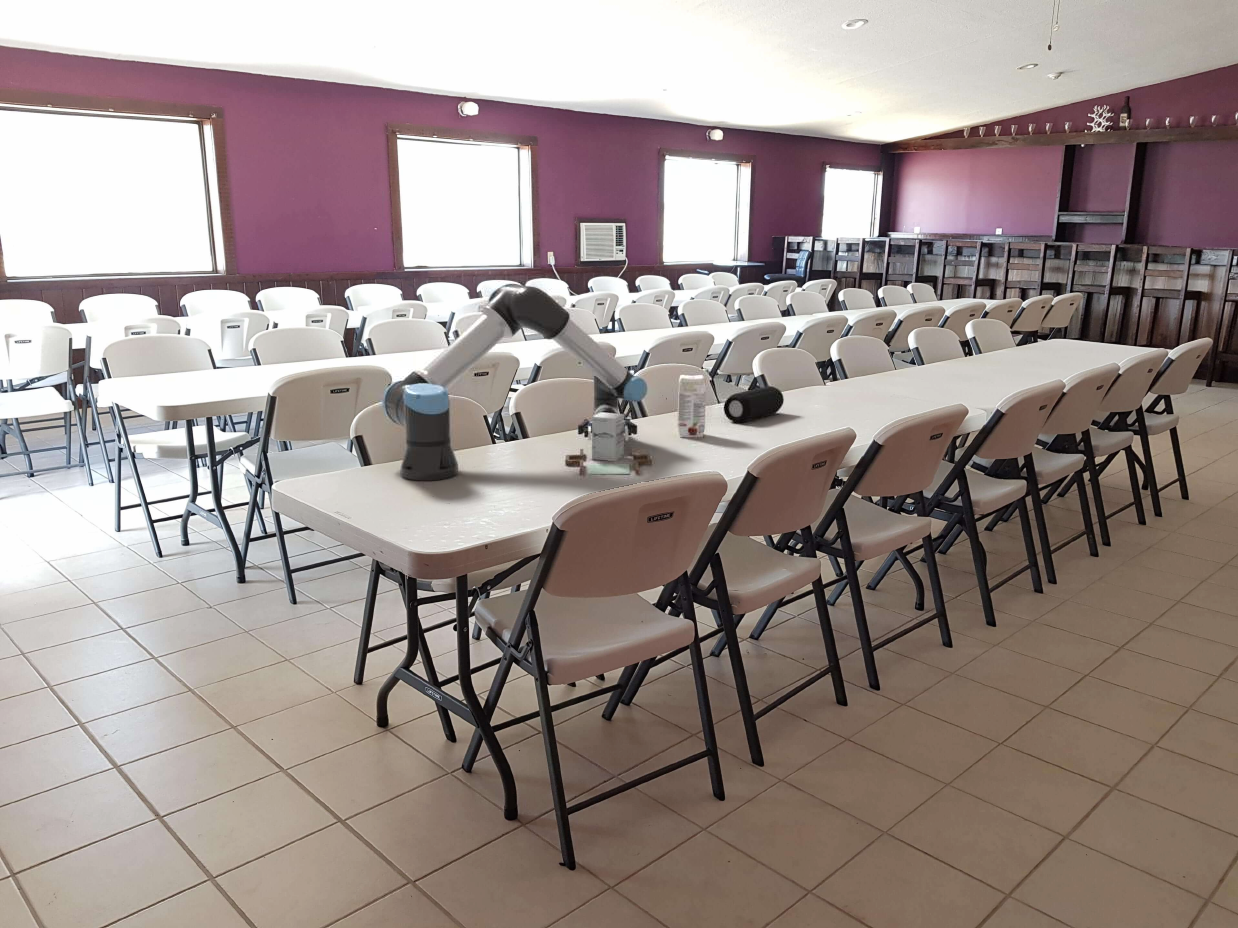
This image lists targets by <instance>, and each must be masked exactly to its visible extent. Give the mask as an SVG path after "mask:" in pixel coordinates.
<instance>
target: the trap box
mask: <svg viewBox="0 0 1238 928" xmlns="http://www.w3.org/2000/svg"><path fill="white" fill-rule="evenodd" d="M630 454H631V457H632V461H633V469H634V474H635V476H640V467H644V466H645V467H647V466H652V465H653V464H652V463H653V459H652V456H651V454H647V453H646V454H638V453H637V452H636V449H635V448H631V453H630ZM564 458H565V460H564V461H565V463H564V465H565V466H567V467H573V466H574V467H579V476H584V448H579V454H565V457H564Z"/></svg>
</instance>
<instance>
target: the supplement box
mask: <svg viewBox="0 0 1238 928" xmlns="http://www.w3.org/2000/svg"><path fill="white" fill-rule="evenodd" d="M591 419H592V421H591V422H592V433H591V460H598V461H609V462H614V461H615V462H617V461H619V460H620V459H621V458H623V457H624V444H625V442H624V440H625V434H624V420H625V414H623V413H618V414H615V413H604V412H600V413H598V414H596V415H594V414H593V416H592V418H591ZM619 458H620V459H619Z"/></svg>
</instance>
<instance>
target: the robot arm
mask: <svg viewBox="0 0 1238 928" xmlns="http://www.w3.org/2000/svg"><path fill="white" fill-rule="evenodd" d="M481 312H482V314H481V315H480V317H479V318H478V319H477V320H476V321H475V322H473V323H472V324H471V325H470V326H469V327H468V328H467V329H465V331H463V333H462V334H460V336H458V337H457V338H456V339H455V340H454V341H453V342H452V343H450V344H449V346H447V347H446V348H445V349H444V350H443V351H442V352H440V353H439V355H437V356H436V357H435V358H434V359H433V360H432V361H431V362H430V363H429V364H427V365H426V367H424V368H423V370H413V371H412V372H411V373H410V374H408V375H407V376H406V377H405V378H404V379H403V380H397V381H394V382H392V383H391V384H389V385H388V387H386V389H385V390H384V392H383V394H382V399H381V405H382V410H383V413H384V414H385V415H386V417H387V418H388V419H389V420H391V422H393V423H395V424H396V425H398V426H402V427H404V429H405V444H406V445H405V451H404V455H403V457H402V461H401V465H400V475H401V477H402V478H404V479H407V480H412V481H423V482H424V481H426V482H427V481H440V480H445V479H451V478H453V477H455V476H457V475H458V474H459V473H460V471H459V463H458V461H457V457H456V455H455V452H454V449H453V447H452V443H451V442H452V441H451V439H452V437H451V410H450V409H451V408H450V407H451V400H450V396H449V391H448V390H449V389H450V388H451V387H452V386H453V385H454V384H455V383H457V382H458V380H459V379H461V378H462V377H463V376H464V375H465V374H466V373H467V372H468V371H469V370H470V369H471V368H472V367H473V366H475V365H476V364H477V363H478V362H479V361H480V360H481V359H482V358H483V357H485V355H486V354H487V353H489V352H490V350H492V349H493V348H494V347H495V346H496V345H497V344H498V343H499V342H500V341H501V340H502V339H511V338H512V337H514V336H515V335H516V334H517V333H518V332H519V331H520V330H521V329H522V328H525V329H529V330H532V331H533V332H536V333H538V334H540V335H541V336H542V337H544V338H545V339H546V340H547V341H550V340H552V341H554V342H555V343H556V344H557V345H558V346H560V347H561V349H563V350H565V352H567V353H568V354H569V355H570V356H572V357H573V359H575V360H576V361H577V362H578V363H580V364H581V365H582V366H583V367H585V368H586V369H587V370H588V371H589V372H590V373H592V374H593V416H594V415H596V414H598V413H600V412H604V413H615V414H619V399H621V400H624V401H627V402H631V403H632V402H633V403H637V402H641V401H642V400H644V399H645V397H646V395H647V393H648V384H647V382H646V380H644V378H641V377H640V376H639V375H638V376H637V375H634V374H633V373H631V372H630V370H628V369H627V368H625V366H624V365H622V364H621V362H619V361H618V360H617V359H616V358H615V357H613V356H612V355H611V354H610V353H609V352H608V351H607V350H605V349H604V348H603V347H602V346H601V345H600V344H599V343H597V341H595V340H594V339H593V338H592V337H591V336H590V335H589V334H587V333H586V331H584V330H583V329H582V328H581V327H580V326H579V325H577V323H575V322H574V321H573V320H572V319H571V315H570V312H569V311H568V310H566V309H565V308H564V307H563V306H561V304H559V302H557V301H556V300H555V299H554V298H553V297H552V296H550V294H548V293H547V292H545V291H544V290H542V289H540V288H538V287H536V286H532V285H531V286H530V285H522V284H518V283H507V284H502V285H499V286H498V287H496V288H495V289H494V290H493V291H492V292H491V294H489V297H488V301H487V303H486V304H485V305H483V307H482V311H481ZM577 434H578V435H584V438H588V439H587V440H588V442H589V441H592V421H591V420H589V419H587V418H585V419H584V420H583V422H581V423H580V424H578V425H577ZM632 435H638V425H637V424H635V423H634V422H632V421H631V419H629V418H627V419H624V440H625V441H629V436H630V437H631V436H632Z"/></svg>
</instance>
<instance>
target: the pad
mask: <svg viewBox="0 0 1238 928" xmlns="http://www.w3.org/2000/svg"><path fill="white" fill-rule="evenodd" d="M630 471H631V470H630V465H629V464H628V463H620V464H619V463H618V464H617V463H614V464H613V463H612V464H611V463H610V464H609V463H608V464H607V463H606V464H604V463H602V464H599V463H598V464H597V463H595V464H593V463H589V464H588V475H590V476H597V475H598V476H599V475H600V476H601V474H630V475H631V472H630Z"/></svg>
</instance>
